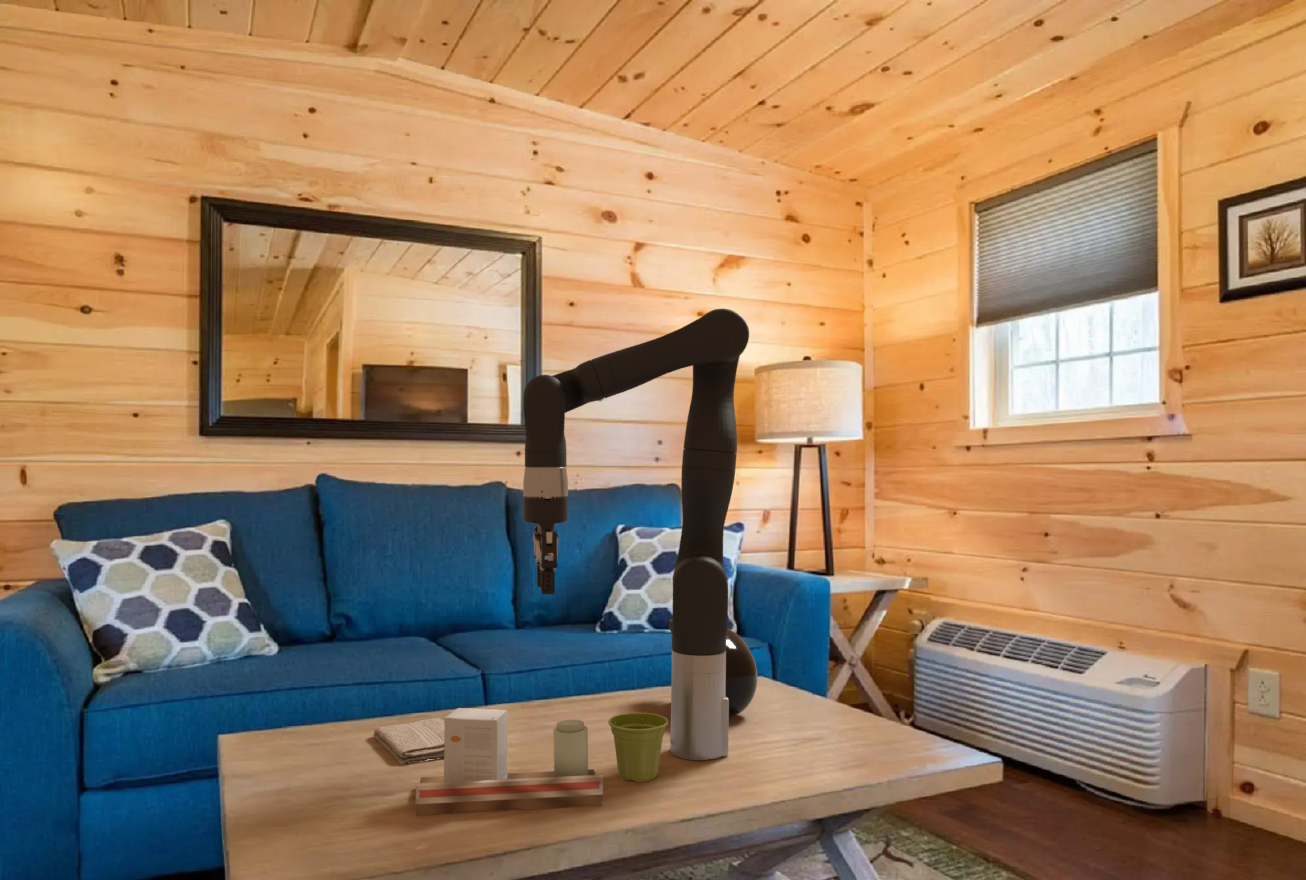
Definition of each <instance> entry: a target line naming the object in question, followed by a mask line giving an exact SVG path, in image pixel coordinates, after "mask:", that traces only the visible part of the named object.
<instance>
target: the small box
mask: <svg viewBox="0 0 1306 880" xmlns="http://www.w3.org/2000/svg"><path fill="white" fill-rule="evenodd" d="M444 722H445V735H444V759H443V769H444V770H443V771H444V773H443V776H444V782H459V781H480V780H501V779H507V773H508V710H507V709H492V708H491V709H489V708H488V709H487V708H471V707H470V708H467V707H466V708H465V707H457V708H456V709H454V711H452V712H450V714H448V715H447V716H446V717H444Z"/></svg>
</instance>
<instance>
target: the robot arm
mask: <svg viewBox="0 0 1306 880" xmlns="http://www.w3.org/2000/svg"><path fill="white" fill-rule="evenodd" d="M749 340H750V329H749V325H748V323H747V321H746V319H744V317H743V316H742V315H741V314H740V313H738V312H737V311H735V310H733V309H729V308H716V309H712V310H710V311H708V312H706V313H704V315H702V316H701V317H699V318H697V319H696V320H693V321H692V322H690V323H689V324H686V325H685V326H682V327H681V328H679V329H676V330H674V331H672V332H669V333H666V334H664V335H662V336H659V337H657V338H654V339H651V340H647V341H645V342H642V343H639V344H635V345H632V346H629V347H624V348H622V349H619V350H616V351H613V352H609V353H606V354H604V355H600V356H598V357H594V358H592V359H589V360H586V361H584V362H582V363H579V364H578V365H577V366H576V367H574V368H572V369H568V370H565V371H562V372H559V373H556V374H553V375H551V374H550V375H549V374H541V375H536V376H534V377H533V378H531V379H530V380H529V381H528V382H527V384H526V385H525V387H524V391H523V400H522V401H523V418H524V429H525V444H524V473H523V480H522V481H523V483H522V485H523V488H522V489H523V490H522V491H523V493H522V496H523V497H522V498H523V499H522V500H523V501H522V502H523V504H522V508H523V509H522V520H523V522H525V523H526V524H537V525H535V527H534V532H533V534H532V535H533V536H532V541H533V555H534V558H535V560H534V561H535V562H534V563H535V565H536V586H537V587H538V588H540V593H541V594H542V595H554V594H555V592H556V590H555V589H556V571H557V569H558V556H559V547H558V544H559V539H560V538H559V533H558V531H557V530H555V524H561V523H566V522H567V521H568V519H569V481H568V472H567V441H566V436H565V422H566V421H565V418H566V416H565V414H566V413H568V412H572V411H573V410H576V409H577V408H580V407H582V406H584V405H586V404H589V403H595V402H598V401H601V400H604V399H607V398H610V397H613V396H616V395H619V394H622V393H625V392H627V391H630V390H633V389H635V388H637V387H639V386H642V385H645V384H646V383H648V382H649V383H650V382H651V381H654V380H655V379H657V378H660V377H663V376H664V375H667V374H670V373H672V372H675V371H678V370H682V369H685V368H689V367H692V389H691V391H692V392H691V399H690V404H689V410H688V415H687V420H686V427H685V433H684V440H683V449H682V461H681V462H682V464H681V481H680V482H681V490H680V491H681V494H680V495H681V513H682V516H681V517H682V525H681V534H680V541H679V547H678V553H677V557H676V561H675V562H676V563H675V566H674V571H673V573H672V619H673V621H672V633H671V685H670V687H671V689H670V690H671V693H670V695H671V696H670V697H671V698H670V738H669V739H670V749H669V750H670V753H671V755H674V756H675V757H677V758H681V759H684V760H692V761H708V759H710V760H715V759H718V758H721V756H722V757H728V756H729V727H730V726H729V724H730V723H729V721H730V720H729V718H730V717H729V699H728V698H727V697H726V696H725V687H726V639H727V629H728V627H729V626H728V621H729V620H728V617H729V613H728V612H729V582H728V577H727V573H726V572H725V569H724V532H725V531H724V530H725V522H726V519H727V514H728V510H729V506H730V503H731V500H732V499H731V498H732V495H733V490H734V484H735V475H736V466H737V453H738V432H737V422H736V420H737V419H736V411H735V410H736V409H735V400H734V396H735V394H734V393H735V384H736V377H737V370H738V367H739V361H740V357H741V355H742V354H743V353H744V352H745V349H746V348H747V345H748V343H749ZM727 755H728V756H727Z"/></svg>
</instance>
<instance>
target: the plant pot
mask: <svg viewBox="0 0 1306 880" xmlns="http://www.w3.org/2000/svg"><path fill="white" fill-rule="evenodd" d="M607 723H608V725H609V726H610V729H611V734H612V735H613V742H614V747H615V750H614V751H615V758H616V765H617V773H618V776H619V778H620V779H622V780H623V781H628V780H629V781H630V780H631V781H634V782H637V783H642V782H648V781H653V780H654V779H655V778H656V776H658V775H659V774H658V773H659V767H660V759H661V751H662V745H663V744H662V742H663V737H664V734H665V732H666V727H667V726H668V725H669V720H668V718H667V717H666V716H663V715H660V714H656V713H650V712H626V713H625V712H624V713H620V714H616V715H613V716H611V717H610V718H608V720H607Z"/></svg>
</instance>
